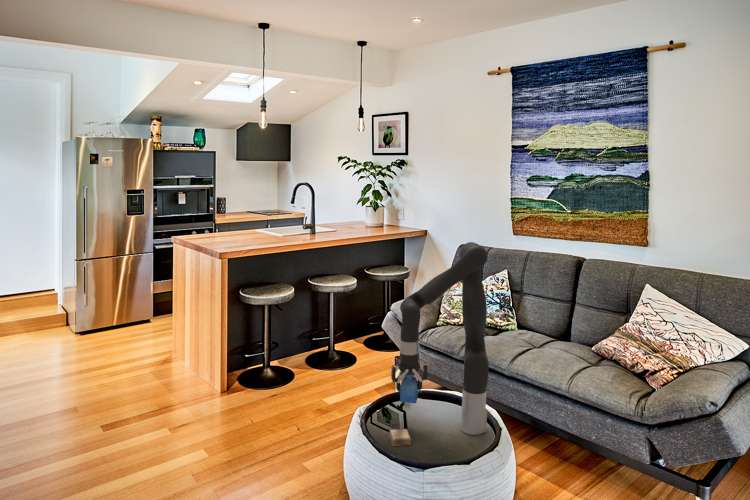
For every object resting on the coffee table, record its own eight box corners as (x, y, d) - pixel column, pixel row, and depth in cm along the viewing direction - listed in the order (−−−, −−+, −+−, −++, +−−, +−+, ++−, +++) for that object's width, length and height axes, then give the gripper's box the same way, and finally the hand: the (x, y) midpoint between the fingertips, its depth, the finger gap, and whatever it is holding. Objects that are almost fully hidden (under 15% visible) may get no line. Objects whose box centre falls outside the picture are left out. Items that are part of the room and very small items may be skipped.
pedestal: (407, 435, 212) (407, 428, 212) (410, 445, 205) (411, 437, 205) (389, 436, 211) (389, 429, 211) (392, 446, 204) (392, 439, 204)
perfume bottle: (415, 403, 210) (416, 374, 208) (400, 402, 211) (400, 372, 209) (417, 396, 216) (418, 367, 214) (402, 395, 217) (402, 366, 215)
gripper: (425, 346, 215) (424, 385, 218) (389, 348, 213) (389, 387, 216) (430, 353, 207) (429, 393, 210) (393, 355, 205) (392, 395, 208)
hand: (409, 390), depth 213 cm, fingers closed on perfume bottle, 7 cm apart
